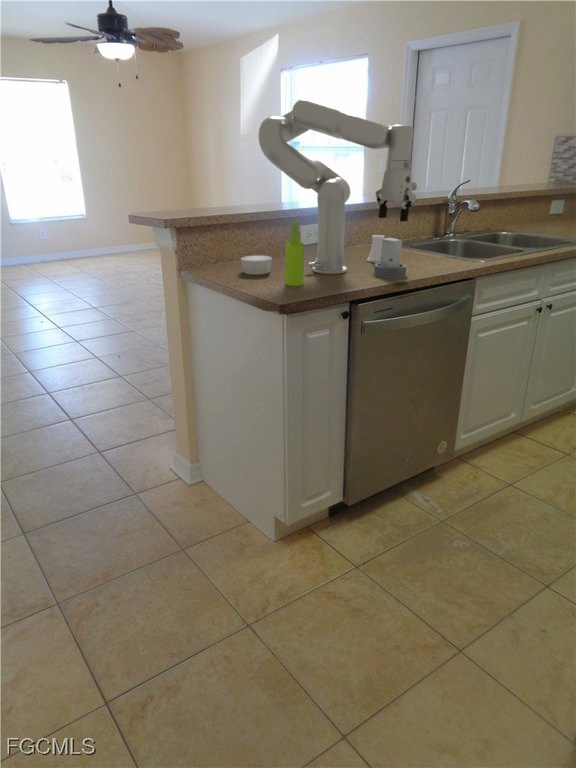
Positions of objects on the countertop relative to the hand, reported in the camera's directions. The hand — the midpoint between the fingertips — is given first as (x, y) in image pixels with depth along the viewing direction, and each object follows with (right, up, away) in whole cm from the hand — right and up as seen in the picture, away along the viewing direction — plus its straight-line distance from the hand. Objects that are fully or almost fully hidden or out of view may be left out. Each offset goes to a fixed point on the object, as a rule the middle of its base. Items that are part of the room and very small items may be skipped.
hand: (392, 219), depth 189 cm
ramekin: (-48, -16, +10) cm, 51 cm away
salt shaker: (-1, -8, +31) cm, 32 cm away
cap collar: (0, -18, +8) cm, 19 cm away
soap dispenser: (-34, -23, -6) cm, 42 cm away
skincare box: (0, -17, +7) cm, 19 cm away
